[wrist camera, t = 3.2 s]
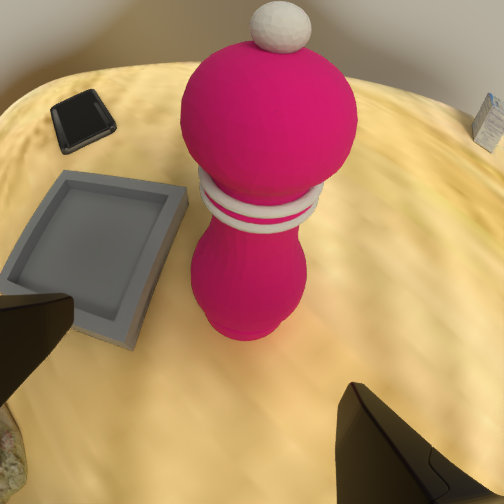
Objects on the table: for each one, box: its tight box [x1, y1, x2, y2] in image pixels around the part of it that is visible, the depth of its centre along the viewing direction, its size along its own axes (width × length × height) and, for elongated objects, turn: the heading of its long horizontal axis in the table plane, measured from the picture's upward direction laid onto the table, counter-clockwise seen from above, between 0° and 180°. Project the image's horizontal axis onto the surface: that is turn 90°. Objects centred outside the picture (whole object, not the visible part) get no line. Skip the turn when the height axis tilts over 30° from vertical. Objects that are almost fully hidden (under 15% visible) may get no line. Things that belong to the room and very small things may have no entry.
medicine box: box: [472, 93, 504, 153], centre depth 39 cm, size 8×4×9 cm, turn 148°
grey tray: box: [0, 170, 189, 351], centre depth 24 cm, size 14×14×2 cm
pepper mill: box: [180, 1, 358, 341], centre depth 15 cm, size 7×7×20 cm
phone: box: [50, 89, 117, 155], centre depth 35 cm, size 8×1×15 cm
